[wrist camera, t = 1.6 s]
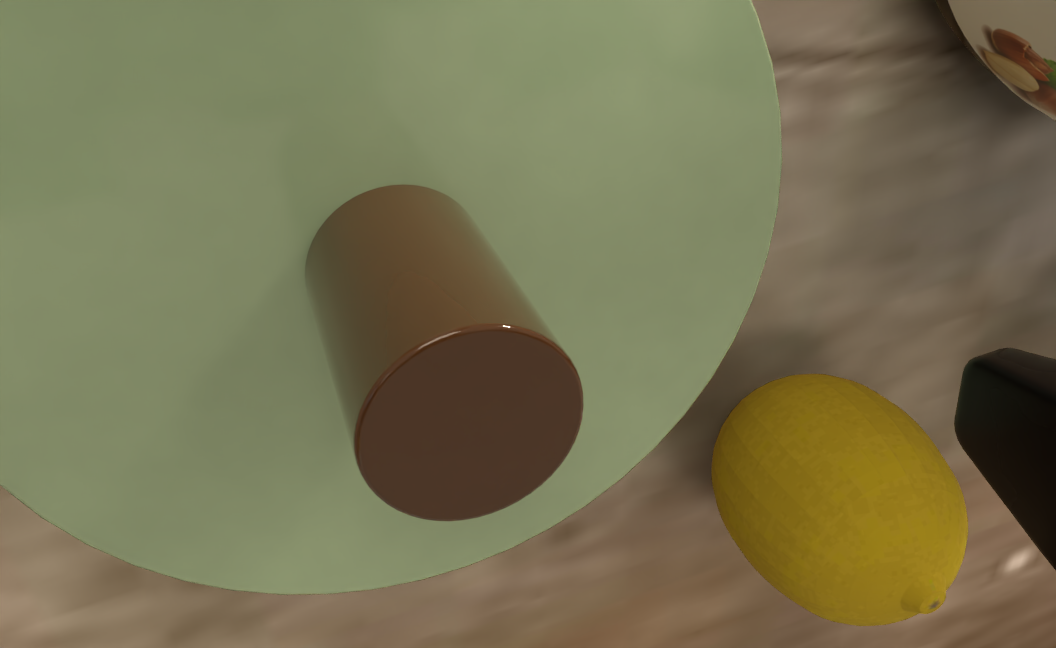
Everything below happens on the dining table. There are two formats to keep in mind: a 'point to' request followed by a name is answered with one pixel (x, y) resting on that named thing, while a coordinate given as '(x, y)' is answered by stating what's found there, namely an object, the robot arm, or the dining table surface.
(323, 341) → the crock lid
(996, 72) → the spread jar
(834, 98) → the dining table surface
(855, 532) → the lemon
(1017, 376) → the robot arm
